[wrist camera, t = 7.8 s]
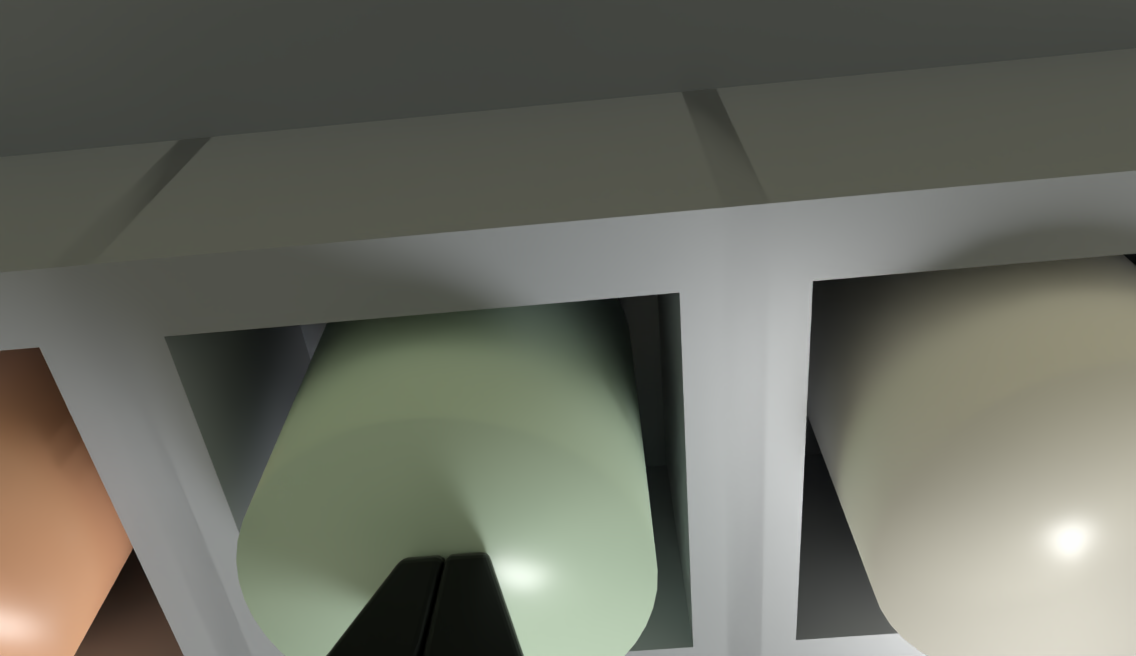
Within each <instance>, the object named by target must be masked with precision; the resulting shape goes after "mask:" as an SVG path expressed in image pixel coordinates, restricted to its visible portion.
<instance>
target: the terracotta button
mask: <svg viewBox="0 0 1136 656" xmlns="http://www.w3.org/2000/svg"><path fill="white" fill-rule="evenodd" d="M132 549H133V546H132V544H131V542H130V540H129V538H128V536H127V533H126V531H125V529H124V527H123V525H122V523H121V521H120V518H119V516H118V514H117V512H116V510H115V508H114V506H113V504H112V501H111V499H110V497H109V495H108V493H107V491H106V489H105V486H104V484H103V482H102V480H101V478H100V476H99V474H98V472H97V469H96V467H95V465H94V463H93V461H92V459H91V457H90V454H89V452H88V450H87V448H86V446H85V444H84V442H83V440H82V437H81V435H80V433H79V431H78V429H77V427H76V425H75V422H74V420H73V418H72V416H71V414H70V412H69V410H68V408H67V405H66V403H65V401H64V399H63V397H62V395H61V393H60V390H59V388H58V386H57V384H56V382H55V380H54V378H53V376H52V373H51V371H50V369H49V367H48V365H47V363H46V361H45V358H44V356H43V354H42V352H41V350H40V348H39V347H37V348H25V349H14V350H2V351H0V656H74V655H75V653H76V651H77V649H78V648H79V646H80V644H81V642H82V640H83V638H84V637H85V635H86V633H87V631H88V629H89V628H90V626H91V624H92V622H93V620H94V618H95V617H96V615H97V613H98V611H99V609H100V608H101V606H102V604H103V602H104V600H105V599H106V597H107V595H108V593H109V591H110V589H111V588H112V586H113V584H114V582H115V580H116V579H117V577H118V575H119V573H120V571H121V569H122V568H123V566H124V564H125V562H126V560H127V559H128V557H129V555H130V553H131V551H132Z"/></svg>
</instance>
